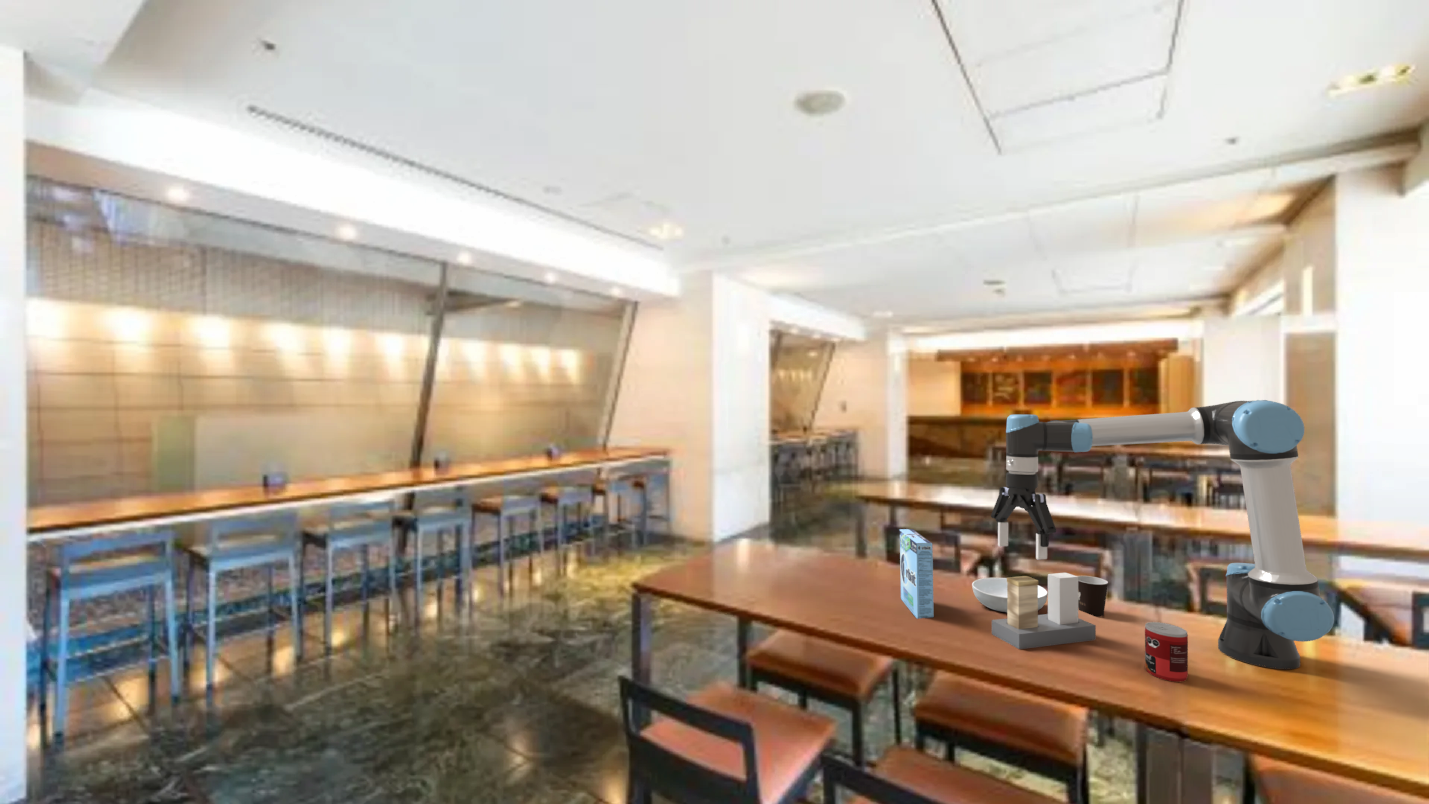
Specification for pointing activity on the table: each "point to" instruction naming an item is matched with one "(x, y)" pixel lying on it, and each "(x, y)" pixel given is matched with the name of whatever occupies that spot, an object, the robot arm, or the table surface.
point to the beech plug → (1022, 602)
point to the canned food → (1166, 651)
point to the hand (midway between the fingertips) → (1021, 552)
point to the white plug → (1063, 598)
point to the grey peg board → (1044, 633)
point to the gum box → (916, 573)
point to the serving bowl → (999, 593)
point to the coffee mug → (1092, 595)
